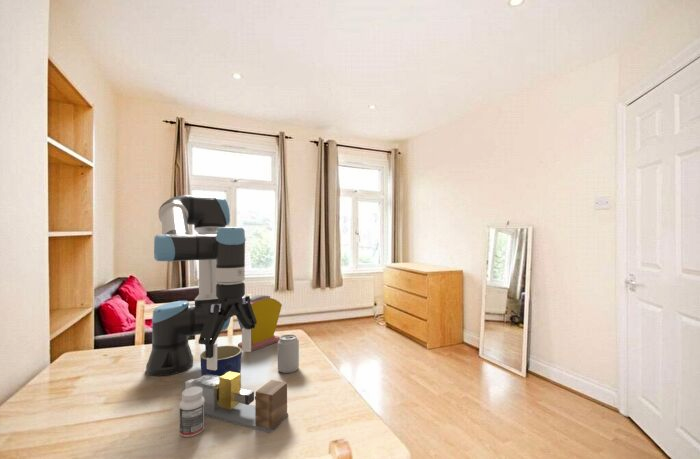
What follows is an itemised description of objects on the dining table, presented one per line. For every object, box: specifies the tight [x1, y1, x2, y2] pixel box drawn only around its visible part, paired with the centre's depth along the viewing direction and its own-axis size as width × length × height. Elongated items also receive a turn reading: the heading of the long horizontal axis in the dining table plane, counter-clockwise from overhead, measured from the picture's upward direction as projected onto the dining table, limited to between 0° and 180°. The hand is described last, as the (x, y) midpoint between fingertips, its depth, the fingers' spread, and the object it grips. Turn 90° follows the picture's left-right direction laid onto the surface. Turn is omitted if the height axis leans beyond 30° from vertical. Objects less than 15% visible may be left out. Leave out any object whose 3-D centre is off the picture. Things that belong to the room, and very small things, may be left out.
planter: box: [199, 345, 243, 377], centre depth 102 cm, size 12×12×11 cm
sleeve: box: [192, 374, 221, 412], centre depth 90 cm, size 8×5×8 cm
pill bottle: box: [179, 387, 206, 438], centre depth 79 cm, size 6×6×10 cm
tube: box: [184, 371, 255, 409], centre depth 89 cm, size 22×4×8 cm, turn 70°
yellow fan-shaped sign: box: [236, 294, 283, 352], centre depth 141 cm, size 22×9×22 cm, turn 145°
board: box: [205, 403, 289, 434], centre depth 87 cm, size 27×8×1 cm, turn 70°
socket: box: [254, 379, 288, 432], centre depth 83 cm, size 5×7×9 cm
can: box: [277, 333, 300, 374], centre depth 114 cm, size 8×8×12 cm
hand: (230, 359), depth 87 cm, fingers open, 13 cm apart
